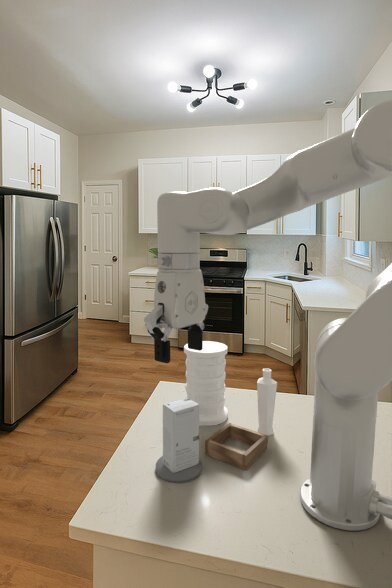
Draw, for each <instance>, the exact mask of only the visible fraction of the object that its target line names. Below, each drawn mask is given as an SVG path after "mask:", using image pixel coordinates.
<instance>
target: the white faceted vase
mask: <svg viewBox="0 0 392 588" xmlns="http://www.w3.org/2000/svg"><path fill="white" fill-rule="evenodd" d="M256 389H257V392H256V393H257V414H258V416H257V417H258V420H257V421H258V428H257V431H256V432H259V433H262V434H265V435H268V437H269V436H272V435H274V434H275V432H274V428H273V427H274V426H273V422H274V414H275V408H276V407H275V406H276V396H277V389H278V382H277V381H276V380H275V379H273V378H272V369H270V368H262V377H259V378H258V379H257V382H256Z"/></svg>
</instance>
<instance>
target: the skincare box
mask: <svg viewBox="0 0 392 588" xmlns="http://www.w3.org/2000/svg"><path fill="white" fill-rule="evenodd" d="M162 456H163V464H164V465H165V466H166V467H167V468H168V469H169V470H170V471H171V472H172V473H176V472H178V471H181V470H184V469H187V468H190V467H192V466H195V465H197V464H198V463H199V459H200V426H199V404H197V403H196V402H194V401H192V400H190V399H189V398H187V399H185V398H183V399H177V400H174V401H171V402H167V403H164V404H162Z"/></svg>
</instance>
